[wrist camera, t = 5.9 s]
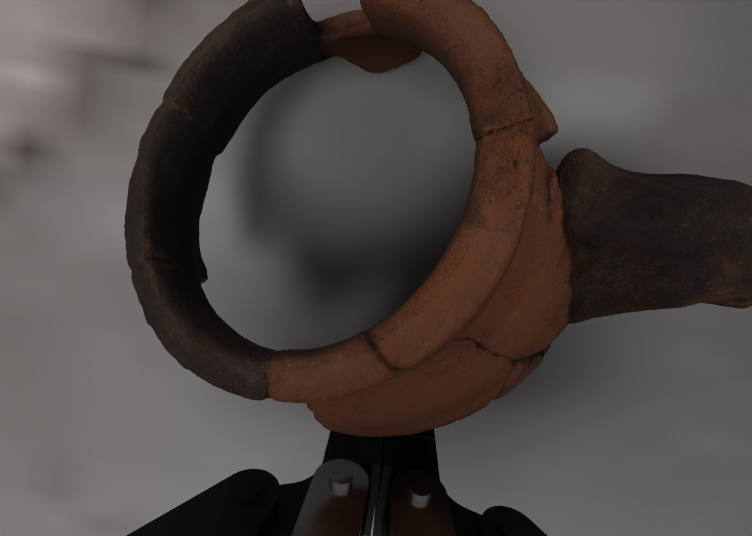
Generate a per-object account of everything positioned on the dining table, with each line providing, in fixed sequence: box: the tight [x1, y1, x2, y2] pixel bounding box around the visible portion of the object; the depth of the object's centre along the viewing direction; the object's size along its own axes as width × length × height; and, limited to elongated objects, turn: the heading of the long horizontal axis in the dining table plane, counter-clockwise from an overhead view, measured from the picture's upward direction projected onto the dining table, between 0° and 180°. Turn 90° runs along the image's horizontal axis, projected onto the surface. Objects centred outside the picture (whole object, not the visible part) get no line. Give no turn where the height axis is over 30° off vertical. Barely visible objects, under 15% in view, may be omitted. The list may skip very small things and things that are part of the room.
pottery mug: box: [124, 0, 752, 437], centre depth 9 cm, size 12×10×8 cm
